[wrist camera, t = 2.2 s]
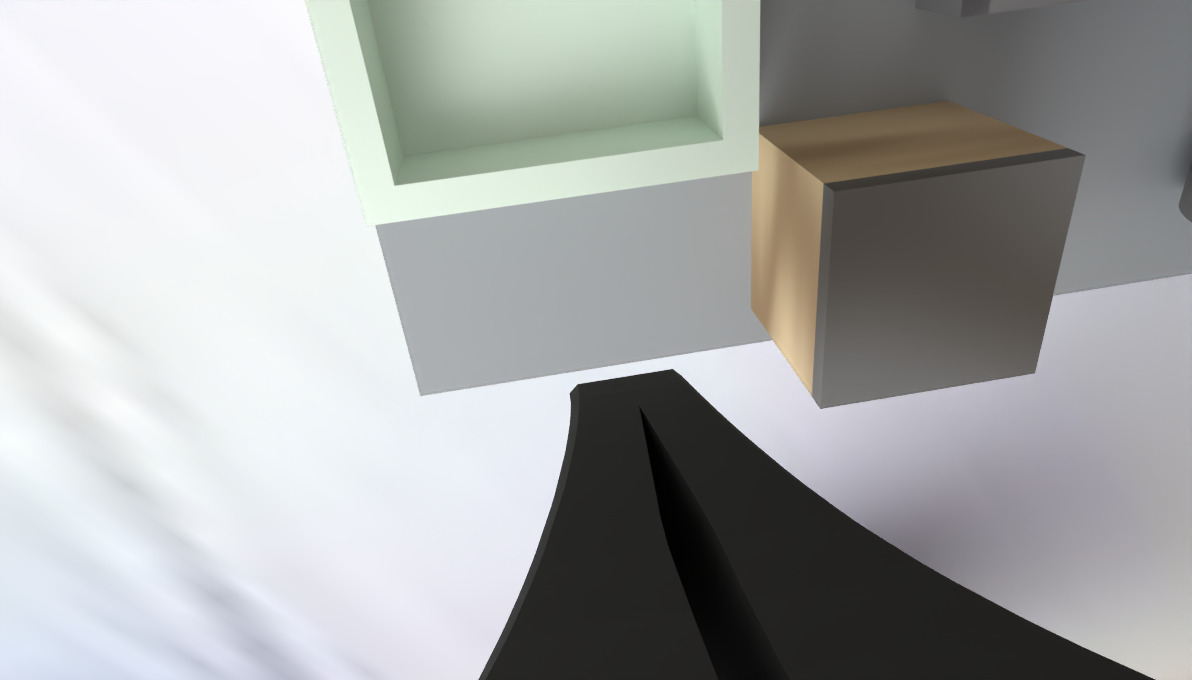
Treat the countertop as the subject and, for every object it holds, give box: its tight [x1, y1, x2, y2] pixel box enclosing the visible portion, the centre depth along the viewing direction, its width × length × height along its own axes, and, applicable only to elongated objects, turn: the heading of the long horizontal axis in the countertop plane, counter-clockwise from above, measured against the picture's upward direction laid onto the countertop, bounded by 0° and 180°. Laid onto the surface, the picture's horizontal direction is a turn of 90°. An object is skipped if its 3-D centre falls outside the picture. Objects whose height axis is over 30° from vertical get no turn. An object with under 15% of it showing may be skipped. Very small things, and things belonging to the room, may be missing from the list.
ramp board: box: [375, 0, 1192, 396], centre depth 14 cm, size 12×24×3 cm, turn 96°
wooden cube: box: [751, 101, 1086, 409], centre depth 14 cm, size 4×4×4 cm
